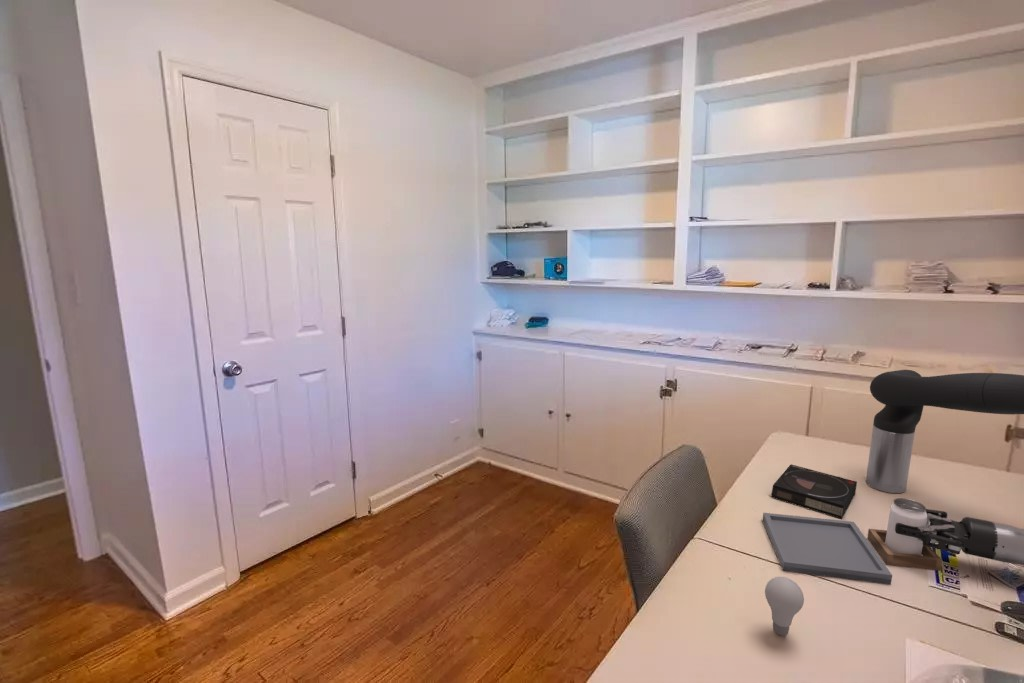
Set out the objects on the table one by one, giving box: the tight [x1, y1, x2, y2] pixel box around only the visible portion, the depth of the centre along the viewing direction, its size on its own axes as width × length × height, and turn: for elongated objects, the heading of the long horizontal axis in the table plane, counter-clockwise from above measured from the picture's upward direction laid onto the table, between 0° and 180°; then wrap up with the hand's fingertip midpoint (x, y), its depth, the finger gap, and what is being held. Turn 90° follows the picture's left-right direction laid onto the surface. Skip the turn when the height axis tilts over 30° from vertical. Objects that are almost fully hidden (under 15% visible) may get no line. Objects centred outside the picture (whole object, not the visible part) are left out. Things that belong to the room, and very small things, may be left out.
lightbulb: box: [764, 576, 805, 637], centre depth 92 cm, size 6×6×11 cm
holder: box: [867, 528, 944, 572], centre depth 115 cm, size 10×10×2 cm
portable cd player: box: [770, 463, 858, 520], centre depth 140 cm, size 16×17×4 cm
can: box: [884, 497, 927, 556], centre depth 113 cm, size 6×6×12 cm
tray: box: [762, 512, 893, 585], centre depth 117 cm, size 20×20×2 cm
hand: (893, 520), depth 114 cm, fingers closed on can, 6 cm apart
